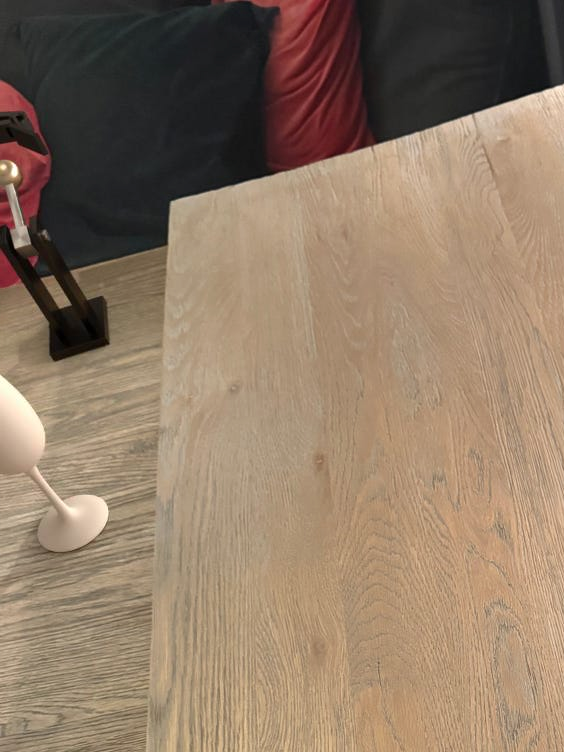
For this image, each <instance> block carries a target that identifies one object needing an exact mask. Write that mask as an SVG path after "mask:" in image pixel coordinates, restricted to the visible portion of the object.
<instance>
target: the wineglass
mask: <svg viewBox="0 0 564 752" xmlns="http://www.w3.org/2000/svg"><path fill="white" fill-rule="evenodd" d="M42 423H43V422H42V421H41V419H40V417H39V416H38V414H37V413H36V411H35V409H34V408H33V407H32V406H31V404H30V402H28V399H26V398H25V397H24V396H23V394H22V393H21V392H20V391H19V390H17V388H16V387H15V386H14V385H13V384H11V383H10V382H9V381H8V380H7V379H6V378H5V377H4V376H2V375H1V374H0V475H5V476H11V475H20V474H25V475H26V476H28V477H29V478H30V479H31V480H32V481H33V482H34V483H35V485H36V486H37V487H38V488H39V489H40V490H41V491H42V493H43V494H44V495H45V497H46V498H47V499H48V501H49V502H50V504H51V505H52V507H51V508H50V509H49V510H48V511H47V512H46V513H45V514H44V516H43V517H42V519H41V520H40V522H39V524H38V528H37V540H38V542H39V544H40V545H41V546H42V547H43V548H44V549H46V550H48V551H50V552H56V553H65V552H72V551H75V550H77V549H80V548H82V547H85V546H86V545H88V544H89V543H91V542H92V541H93V540H94V539H96V538H97V537H98V536H99V534H100V533H101V532H102V531H103V530H104V528H105V526H106V524H107V522H108V519H109V507H108V505H107V503H106V501H105V500H104V499H103V498H101V497H99V496H96V495H93V494H77V495H74V496H70V497H68V498H64V499H63V500H62V499H61V498H60V497H59V496H58V495H57V493H56V492H55V491H54V490H53V489H52V488H51V487H50V485H49V484H48V483H47V481H46V480H45V479H44V477H43V476H42V475H41V472H40V471H39V468H38V467H37V464H38V463H39V461H40V460H41V458H42V456H43V454H44V451H45V447H46V432H45V428H44V425H43V424H42Z"/></svg>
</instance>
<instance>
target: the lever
mask: <svg viewBox="0 0 564 752" xmlns="http://www.w3.org/2000/svg"><path fill="white" fill-rule="evenodd" d="M23 181H24V175H23V172H22V170H21V167H19V166H18V165H17V164H16V163H15V162H14V161H12V160H9V159H0V188H1V189H2V190H5V192H6V196H7V200H8V204H9V208H10V212H11V215H12V219H13V223H14V226H15V228H12V229H10V233H11V237H12V240H13V244H14V248H15V250H16V251H17V252H18V253H19V254H20V255H21V256H22V257H23V259H27V258H28V259H30V258H34V257H37V256H39V255H40V256H41V254H40V253H39V251H38V250H37V248H36V246H35V245H34V243H33V241H32V240H31V238H30V237H29V226H28V225H27V223H26V218H25V215H24V212H23V207H22V204H21V199H20V196H19V192H18V189H19V188H21V186H22V185H23Z"/></svg>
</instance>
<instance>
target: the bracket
mask: <svg viewBox="0 0 564 752" xmlns="http://www.w3.org/2000/svg"><path fill="white" fill-rule="evenodd" d="M28 228H29V237H30V238H31V240H32V241H33V243H34V245H35V246H36V248H37V250H38V251H39V253H40V256H41V258H42V259H43V261H44V263H45V264H46V266H47V267H48V269H49V270H50V272H51V274H52V275H53V277H54V279H55V280H56V282H57V283H58V286H60V289H61V290H62V292H63V293H64V295H65V297H66V298H67V300H68V301H69V303H70V305H67V306H64V307H61V308H60V307H59V305H58V303H57V302H56V301H55V299H54V297H53V296H52V294H51V293H50V291H49V289H48V287H47V286H46V284H45V283H44V282H43V280H42V278H41V276H40V275H39V274H38V272H37V271H36V269H35V267H34V266H33V265H32V262H31V261H30V260H29V259H30V258H27V259H23V257H22V256H21V255H20V254H19V253H18V252H17V251H16V250H15V248H14V244H13V240H12V237H11V233H10V230H11V229H10V228H9V226H8V224H6V223H5V224H2V225H0V251H1V252H2V254H3V255H4V257H5V258H6V260H7V261H8V263H9V264H10V267H12V269H13V271H14V272H15V273H16V275H17V277H18V279H19V280H20V281H21V282H22V284H23V286H24V287H25V289H26V290H27V292H28V294H29V295H30V296H31V298H32V299H33V301H34V303H35V304H36V305H37V307H38V308H39V310H40V313H42V315H43V316H44V318H45V319H46V321H47V322H48V353H49V354H48V355H49V357H50V358H51V360H52V361H53V362H58V361H61V360H63V359H64V360H65V359H67V358H69V357H73V356H77V355H79V354H83V353H85V352H86V353H87V352H88V351H92V350H95V349H98V348H101V347H104V346H108V345H110V332H109V331H110V330H109V318H108V302H107V300H106V298H105V297H104V295H102V294H101V295H99V296H95V297H93V298H89V299H87V297H86V295H85V294H84V292H83V291H82V289H81V287H80V285H79V283H78V282H77V280H76V278H75V277H74V276H73V273H72V271H71V270H70V269H69V267H68V266H67V264H66V262H65V261H64V258H63V257H62V255H61V254H60V252H59V251H58V249H57V246H56V245H55V244H54V242H53V241H52V239H51V236H50V234H49V232H48V231H47V229H45V227H44V225H43V223H42V222H41V220H40V219H39V216H38V215H37V214H34V215H31V216H29V217H28Z"/></svg>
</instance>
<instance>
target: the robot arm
mask: <svg viewBox="0 0 564 752" xmlns="http://www.w3.org/2000/svg"><path fill="white" fill-rule="evenodd" d="M35 130H36V129H35V126H34V125H33V123H32V121H31V120H30V117H29V116H28V114H27V112H26V110H8V111H0V145H4V144H10V143H15V142H16V143H17V145H18V146H20V147H21V148H24V149H26V150H29V151H31V152H34V153H37V154H38V155H41V156H43V157H46V156H47V155H49V154H50V152H49V150H48V149H47V146H46V145H45V143H44V142H43V139H42V137H41V135H40V134H39V133H38V132H37V131H35Z"/></svg>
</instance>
